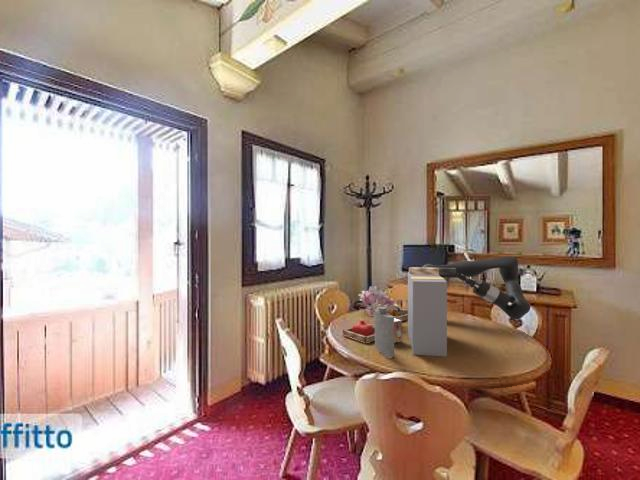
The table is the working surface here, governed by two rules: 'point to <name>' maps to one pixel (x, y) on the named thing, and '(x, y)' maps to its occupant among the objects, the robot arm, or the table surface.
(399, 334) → the small box
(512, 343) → the table surface
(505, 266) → the robot arm
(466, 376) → the table surface
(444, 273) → the dark brown square bar
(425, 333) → the cabinet
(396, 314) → the nautilus
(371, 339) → the frame
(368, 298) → the flower
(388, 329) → the hip flask
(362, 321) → the butter dish
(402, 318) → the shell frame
